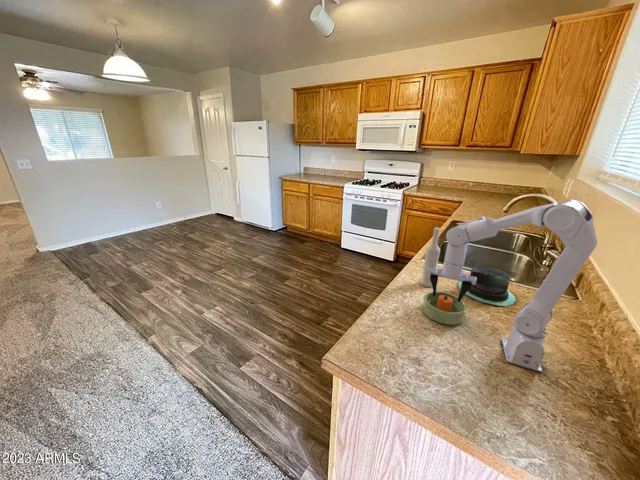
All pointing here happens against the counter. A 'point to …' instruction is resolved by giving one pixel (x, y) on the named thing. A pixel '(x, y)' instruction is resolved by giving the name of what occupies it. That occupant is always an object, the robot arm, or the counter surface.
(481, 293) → the chocolate cake
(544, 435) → the counter surface
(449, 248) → the robot arm
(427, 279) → the bottle
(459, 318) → the bowl
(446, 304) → the pepper
